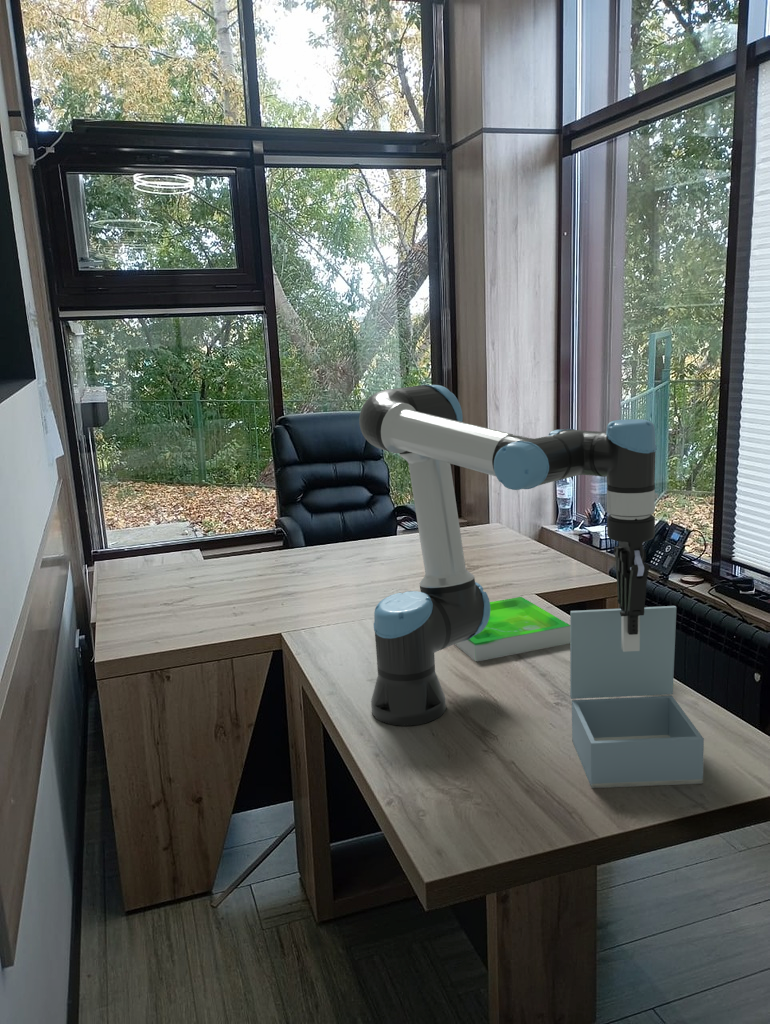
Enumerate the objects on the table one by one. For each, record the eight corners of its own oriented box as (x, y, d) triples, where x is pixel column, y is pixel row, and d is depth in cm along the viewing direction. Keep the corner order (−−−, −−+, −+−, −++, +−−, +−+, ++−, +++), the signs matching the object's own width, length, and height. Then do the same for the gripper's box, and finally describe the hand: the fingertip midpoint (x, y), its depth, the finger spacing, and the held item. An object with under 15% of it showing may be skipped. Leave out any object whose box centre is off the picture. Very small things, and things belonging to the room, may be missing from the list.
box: (591, 788, 133) (591, 743, 131) (572, 740, 148) (571, 700, 147) (702, 783, 132) (703, 738, 130) (671, 736, 148) (672, 695, 146)
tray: (521, 614, 218) (521, 596, 217) (570, 645, 194) (570, 625, 193) (435, 629, 210) (434, 611, 209) (475, 663, 187) (474, 643, 186)
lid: (571, 612, 142) (570, 611, 142) (571, 698, 147) (570, 696, 147) (676, 607, 141) (675, 605, 142) (672, 694, 146) (671, 692, 147)
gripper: (666, 522, 126) (664, 663, 131) (643, 505, 139) (642, 634, 144) (617, 524, 127) (617, 665, 132) (598, 507, 139) (599, 636, 144)
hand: (630, 649), depth 138 cm, fingers closed
